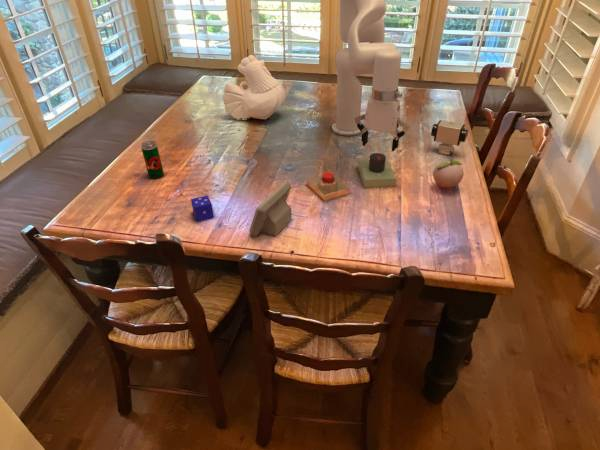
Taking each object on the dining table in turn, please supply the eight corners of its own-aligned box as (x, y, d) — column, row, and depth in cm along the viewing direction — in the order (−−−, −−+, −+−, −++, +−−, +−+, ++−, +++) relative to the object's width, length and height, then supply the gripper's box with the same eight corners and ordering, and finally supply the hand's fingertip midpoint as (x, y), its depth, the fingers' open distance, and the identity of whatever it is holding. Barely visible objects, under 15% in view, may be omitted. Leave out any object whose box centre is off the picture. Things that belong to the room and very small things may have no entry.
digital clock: (279, 206, 132) (278, 176, 126) (302, 217, 128) (302, 186, 121) (241, 231, 123) (237, 200, 116) (264, 244, 118) (261, 212, 111)
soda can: (166, 173, 150) (159, 141, 143) (158, 180, 146) (150, 148, 139) (154, 171, 151) (146, 139, 144) (145, 178, 148) (137, 146, 140)
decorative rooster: (295, 98, 187) (261, 47, 181) (286, 105, 173) (248, 50, 167) (252, 129, 197) (219, 82, 192) (240, 138, 184) (203, 87, 178)
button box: (307, 185, 142) (307, 174, 140) (330, 178, 145) (331, 167, 143) (324, 201, 134) (324, 190, 132) (348, 193, 138) (349, 182, 135)
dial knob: (367, 165, 146) (368, 152, 143) (382, 164, 146) (384, 151, 143) (370, 173, 142) (371, 160, 139) (386, 172, 142) (387, 159, 139)
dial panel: (357, 167, 151) (358, 159, 149) (386, 166, 151) (387, 158, 149) (364, 187, 140) (365, 179, 138) (395, 186, 141) (396, 177, 139)
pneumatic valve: (460, 158, 155) (467, 127, 148) (427, 151, 159) (433, 121, 152) (463, 152, 159) (470, 121, 151) (431, 145, 163) (437, 115, 156)
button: (320, 178, 138) (320, 173, 137) (329, 175, 140) (330, 171, 139) (326, 183, 136) (326, 178, 135) (335, 180, 137) (336, 176, 136)
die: (197, 221, 127) (194, 207, 124) (193, 212, 131) (190, 198, 128) (214, 217, 128) (211, 203, 125) (209, 208, 132) (207, 195, 129)
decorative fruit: (443, 198, 135) (449, 169, 129) (426, 185, 141) (431, 158, 135) (466, 190, 138) (473, 162, 132) (448, 178, 144) (454, 151, 138)
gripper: (416, 94, 128) (409, 147, 138) (361, 86, 135) (357, 137, 145) (409, 102, 123) (402, 156, 133) (352, 93, 129) (349, 146, 139)
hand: (379, 146), depth 139 cm, fingers open, 9 cm apart
